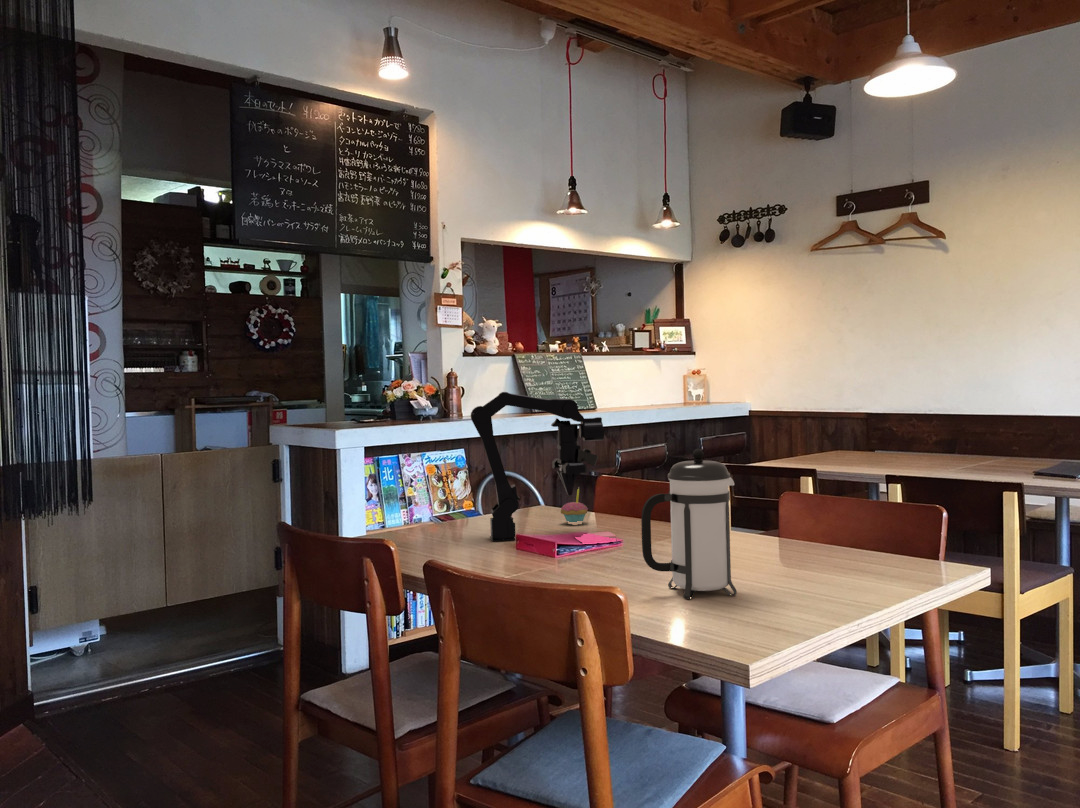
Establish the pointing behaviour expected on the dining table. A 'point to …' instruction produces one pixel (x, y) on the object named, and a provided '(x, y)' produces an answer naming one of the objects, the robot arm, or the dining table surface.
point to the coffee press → (695, 526)
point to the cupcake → (574, 510)
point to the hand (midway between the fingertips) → (569, 495)
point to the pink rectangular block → (604, 534)
